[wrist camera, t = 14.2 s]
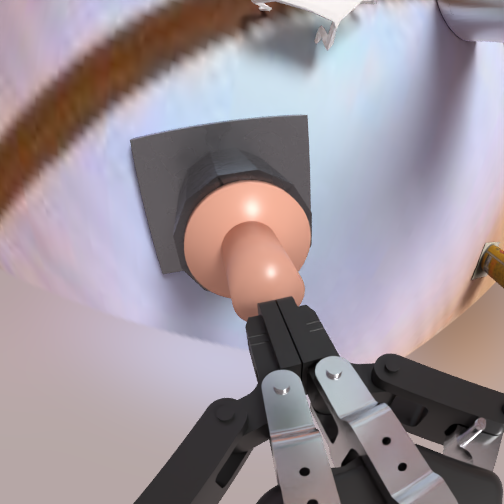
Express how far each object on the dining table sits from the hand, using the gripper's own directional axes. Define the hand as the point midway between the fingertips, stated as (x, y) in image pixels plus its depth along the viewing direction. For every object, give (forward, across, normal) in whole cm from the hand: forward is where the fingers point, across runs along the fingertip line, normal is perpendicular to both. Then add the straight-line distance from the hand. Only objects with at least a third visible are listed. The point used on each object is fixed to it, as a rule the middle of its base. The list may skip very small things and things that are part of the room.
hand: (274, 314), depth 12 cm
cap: (+10, 0, 0) cm, 10 cm away
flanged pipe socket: (+18, 0, 0) cm, 18 cm away
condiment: (+18, -50, +19) cm, 56 cm away
